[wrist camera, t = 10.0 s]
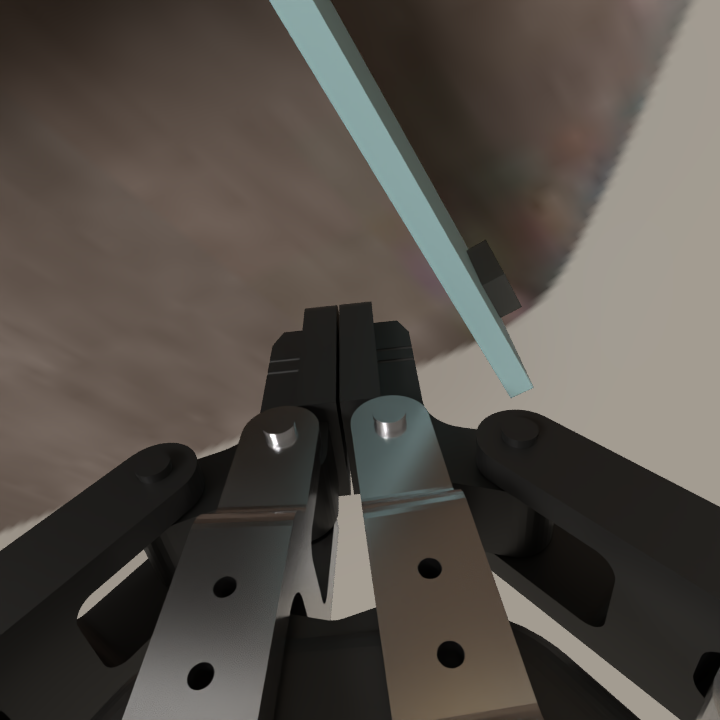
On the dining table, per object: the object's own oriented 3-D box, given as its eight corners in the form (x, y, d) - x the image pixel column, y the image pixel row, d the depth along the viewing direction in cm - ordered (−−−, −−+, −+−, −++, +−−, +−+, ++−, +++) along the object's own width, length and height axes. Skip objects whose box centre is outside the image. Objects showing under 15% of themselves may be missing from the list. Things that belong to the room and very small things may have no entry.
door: (487, 243, 17) (562, 381, 11) (448, 265, 17) (501, 409, 11) (121, -445, 10) (-211, -1081, 4) (69, -382, 10) (-307, -877, 4)
